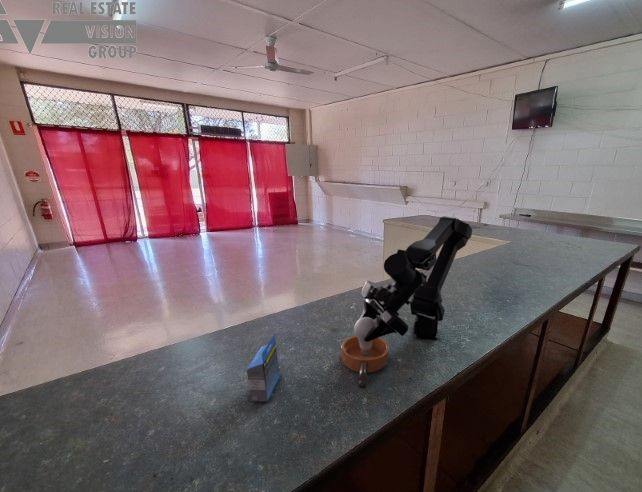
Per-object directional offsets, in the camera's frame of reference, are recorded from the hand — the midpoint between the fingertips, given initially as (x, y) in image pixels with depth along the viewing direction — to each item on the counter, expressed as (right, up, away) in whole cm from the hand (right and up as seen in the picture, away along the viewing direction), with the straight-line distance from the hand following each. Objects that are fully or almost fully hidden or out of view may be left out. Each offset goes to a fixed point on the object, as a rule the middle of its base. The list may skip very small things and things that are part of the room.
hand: (360, 334), depth 80 cm
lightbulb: (+1, -6, +3) cm, 7 cm away
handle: (+1, -9, -7) cm, 11 cm away
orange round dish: (+1, -7, +3) cm, 8 cm away
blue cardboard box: (-21, -11, -8) cm, 26 cm away
